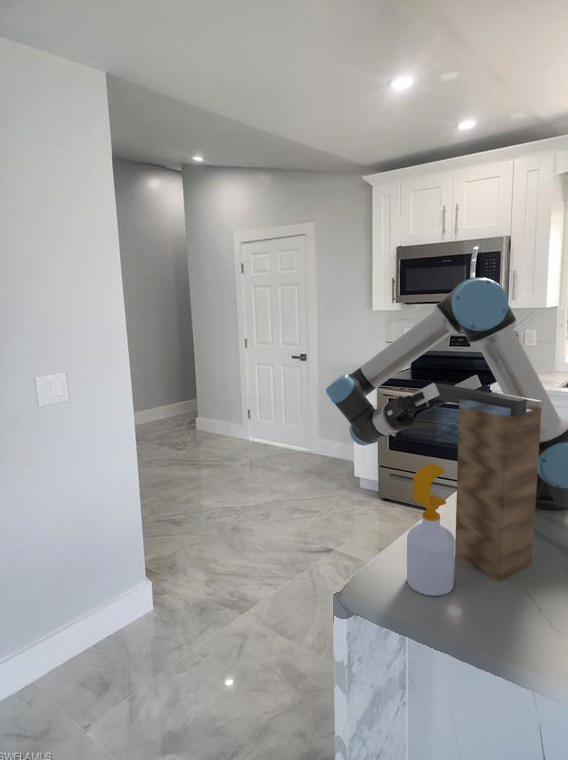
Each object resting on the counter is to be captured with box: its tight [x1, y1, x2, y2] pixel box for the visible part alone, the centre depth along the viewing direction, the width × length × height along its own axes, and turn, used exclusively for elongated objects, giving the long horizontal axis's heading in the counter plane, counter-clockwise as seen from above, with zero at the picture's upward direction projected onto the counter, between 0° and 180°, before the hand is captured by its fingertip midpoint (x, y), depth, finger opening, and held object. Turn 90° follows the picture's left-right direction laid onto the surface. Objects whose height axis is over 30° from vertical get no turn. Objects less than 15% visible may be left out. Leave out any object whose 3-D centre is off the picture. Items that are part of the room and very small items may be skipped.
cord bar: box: [433, 383, 527, 417], centre depth 104 cm, size 21×3×3 cm, turn 33°
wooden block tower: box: [454, 391, 542, 582], centre depth 105 cm, size 11×11×36 cm
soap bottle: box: [406, 463, 455, 597], centre depth 99 cm, size 9×9×25 cm
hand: (458, 384), depth 107 cm, fingers open, 13 cm apart
